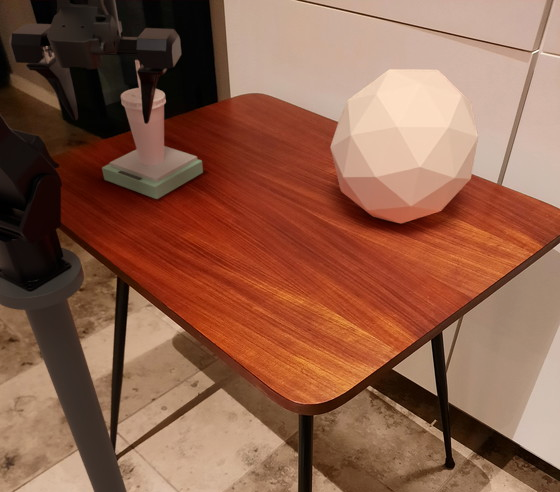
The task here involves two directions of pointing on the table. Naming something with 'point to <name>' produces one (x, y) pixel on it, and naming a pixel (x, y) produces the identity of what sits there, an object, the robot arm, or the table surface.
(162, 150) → the smoothie
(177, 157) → the scale
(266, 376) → the table surface
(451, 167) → the ball
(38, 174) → the robot arm
